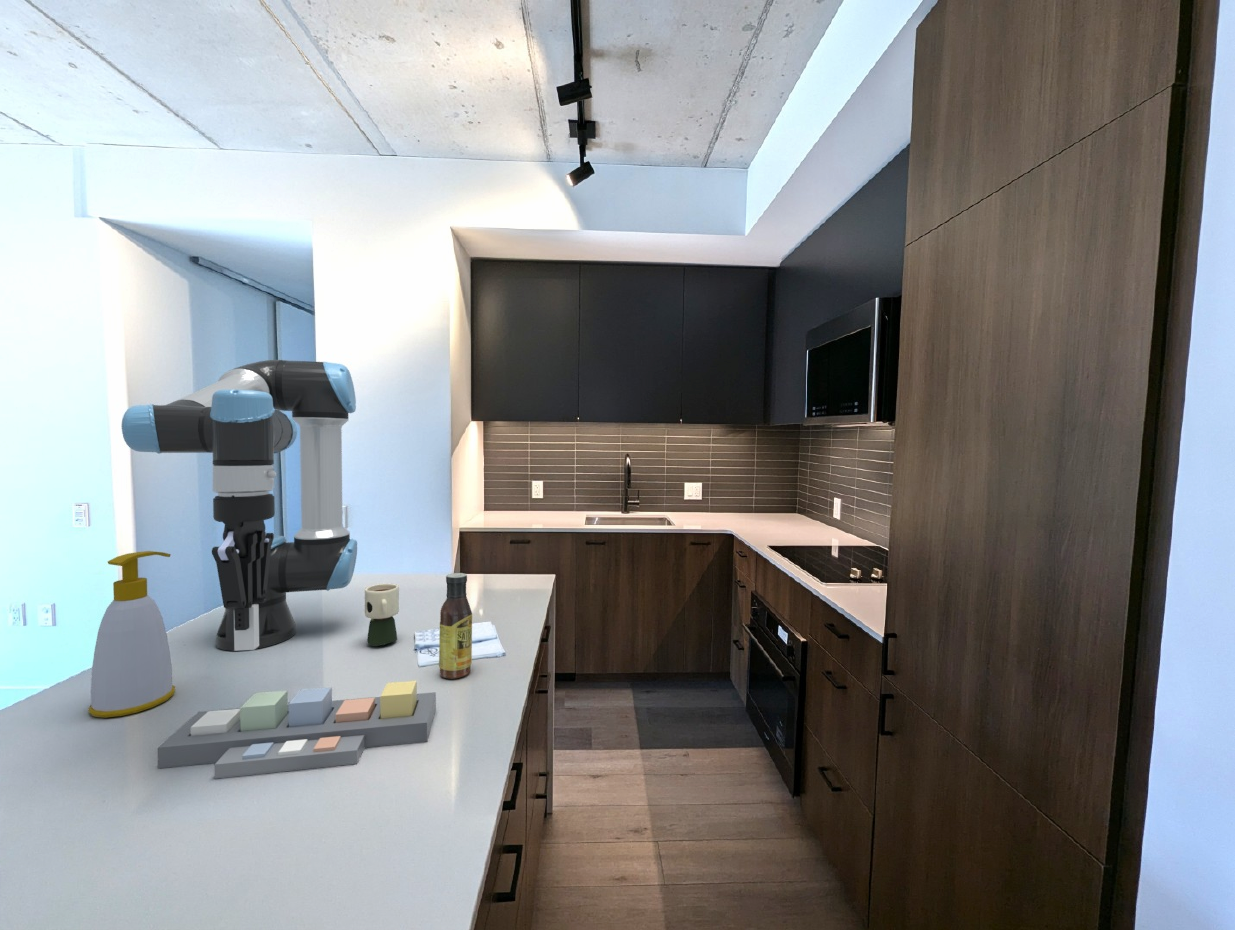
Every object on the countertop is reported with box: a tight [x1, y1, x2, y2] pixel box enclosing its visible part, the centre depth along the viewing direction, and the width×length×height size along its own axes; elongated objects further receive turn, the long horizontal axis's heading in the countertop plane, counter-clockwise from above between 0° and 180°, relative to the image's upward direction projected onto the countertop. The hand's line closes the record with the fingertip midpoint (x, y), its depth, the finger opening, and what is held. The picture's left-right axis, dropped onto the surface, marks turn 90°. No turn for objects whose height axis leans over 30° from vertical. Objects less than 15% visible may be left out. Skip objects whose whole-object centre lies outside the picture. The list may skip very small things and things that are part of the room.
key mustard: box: [380, 680, 418, 719], centre depth 84 cm, size 5×5×4 cm
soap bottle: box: [88, 550, 176, 719], centre depth 91 cm, size 11×12×26 cm
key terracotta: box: [335, 697, 375, 723], centre depth 83 cm, size 5×5×4 cm
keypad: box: [156, 691, 437, 780], centre depth 80 cm, size 14×36×3 cm, turn 102°
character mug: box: [364, 583, 400, 647], centre depth 119 cm, size 11×7×13 cm, turn 30°
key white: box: [191, 708, 240, 736], centre depth 79 cm, size 5×5×4 cm
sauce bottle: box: [438, 572, 473, 680], centre depth 104 cm, size 7×6×20 cm
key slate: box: [288, 686, 333, 727], centre depth 82 cm, size 5×5×4 cm
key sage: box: [239, 690, 289, 732], centre depth 80 cm, size 5×5×4 cm
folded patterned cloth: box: [413, 621, 507, 668], centre depth 119 cm, size 19×20×2 cm
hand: (246, 648), depth 79 cm, fingers closed
